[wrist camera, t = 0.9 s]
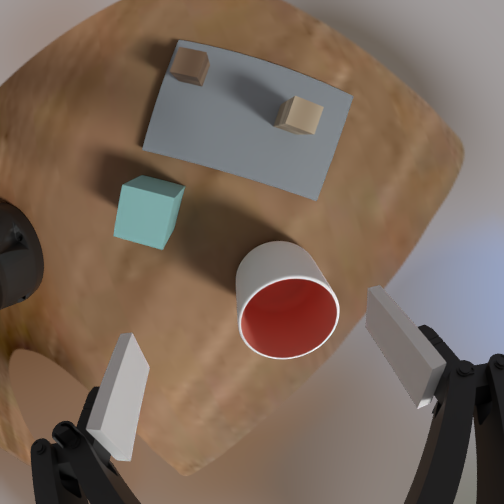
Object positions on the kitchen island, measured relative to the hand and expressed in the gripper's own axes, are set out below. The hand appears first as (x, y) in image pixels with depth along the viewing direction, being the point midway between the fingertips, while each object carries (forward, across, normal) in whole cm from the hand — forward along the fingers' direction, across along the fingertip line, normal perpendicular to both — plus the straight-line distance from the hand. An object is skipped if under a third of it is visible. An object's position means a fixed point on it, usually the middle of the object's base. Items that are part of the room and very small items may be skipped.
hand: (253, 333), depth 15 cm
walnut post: (+19, -1, +18) cm, 26 cm away
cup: (+20, +4, -8) cm, 22 cm away
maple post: (+19, +7, +11) cm, 23 cm away
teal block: (+20, -8, +4) cm, 22 cm away
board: (+20, +3, +12) cm, 23 cm away
